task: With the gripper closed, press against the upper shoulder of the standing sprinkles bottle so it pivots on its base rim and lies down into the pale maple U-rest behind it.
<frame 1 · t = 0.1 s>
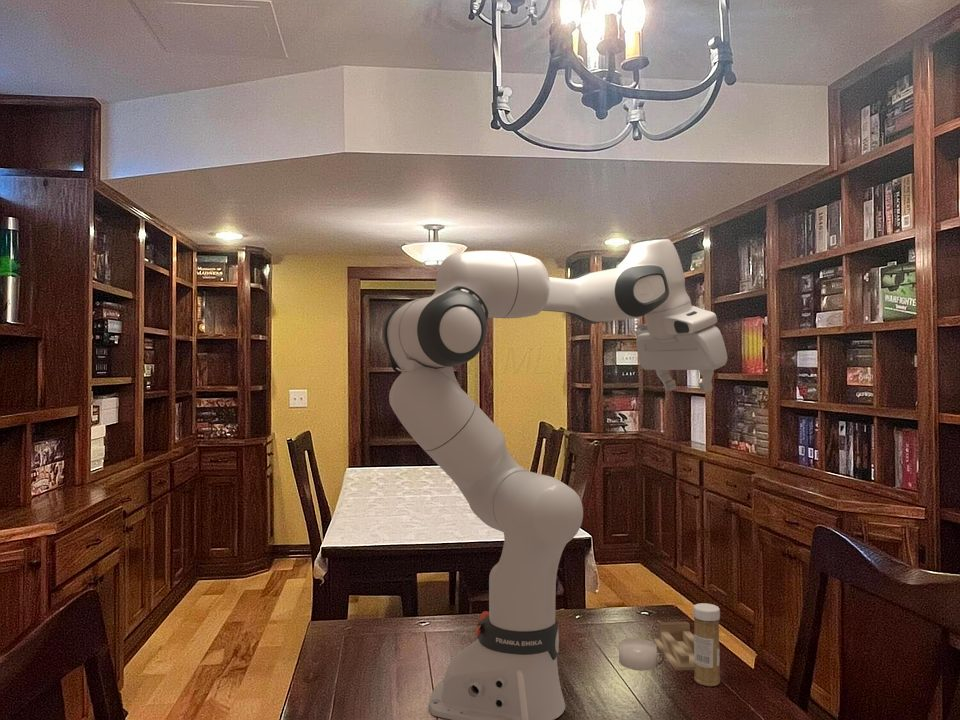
hand: (688, 390, 138), 52 cm above the table, tool tilted 20°, fingers open, 8 cm apart
sprinkles bottle: (706, 682, 129), on the table
u rest: (687, 658, 139), on the table
cream dish: (638, 663, 137), on the table
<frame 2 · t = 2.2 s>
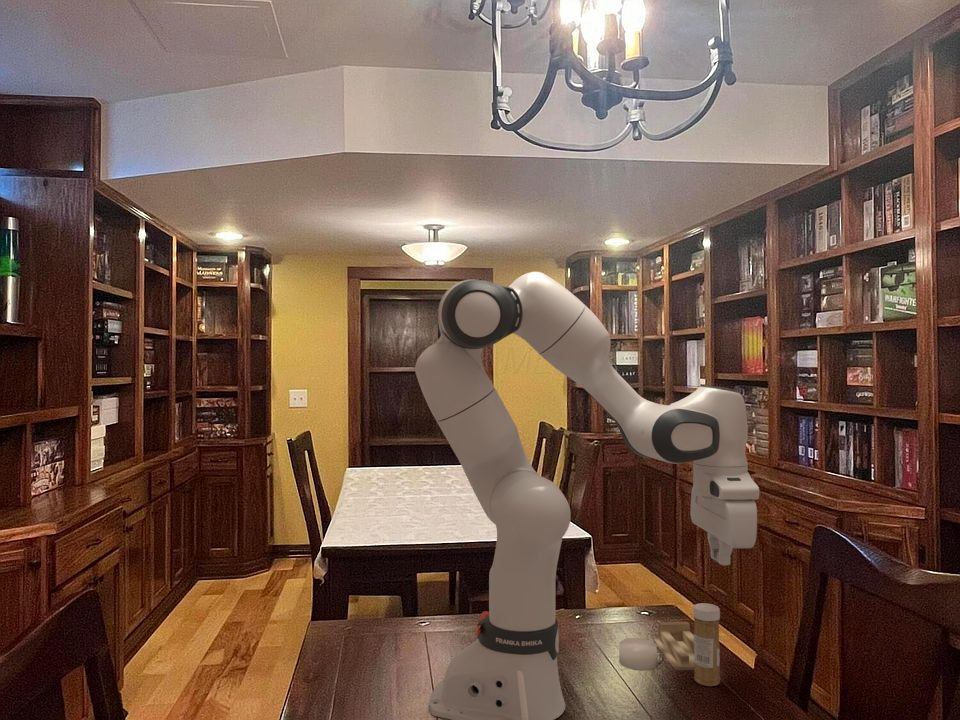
hand: (720, 562, 123), 23 cm above the table, tool pointing down, fingers closed
nothing on the table moved.
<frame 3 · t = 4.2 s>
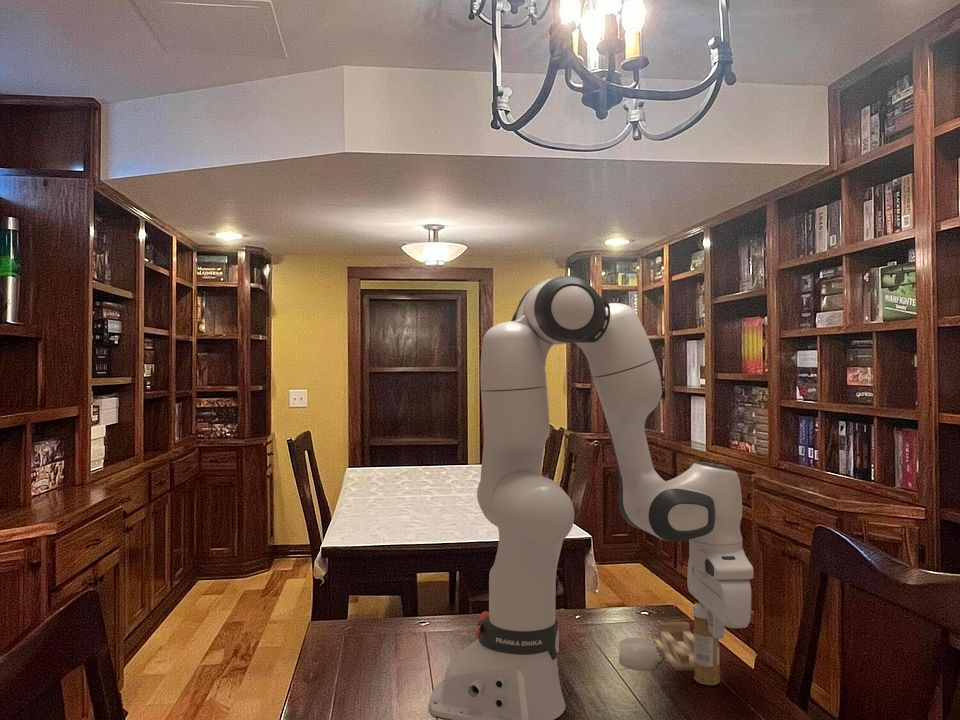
hand: (716, 635, 125), 10 cm above the table, tool pointing down, fingers closed
sprinkles bottle: (706, 682, 129), on the table, touching gripper
everything else where it was.
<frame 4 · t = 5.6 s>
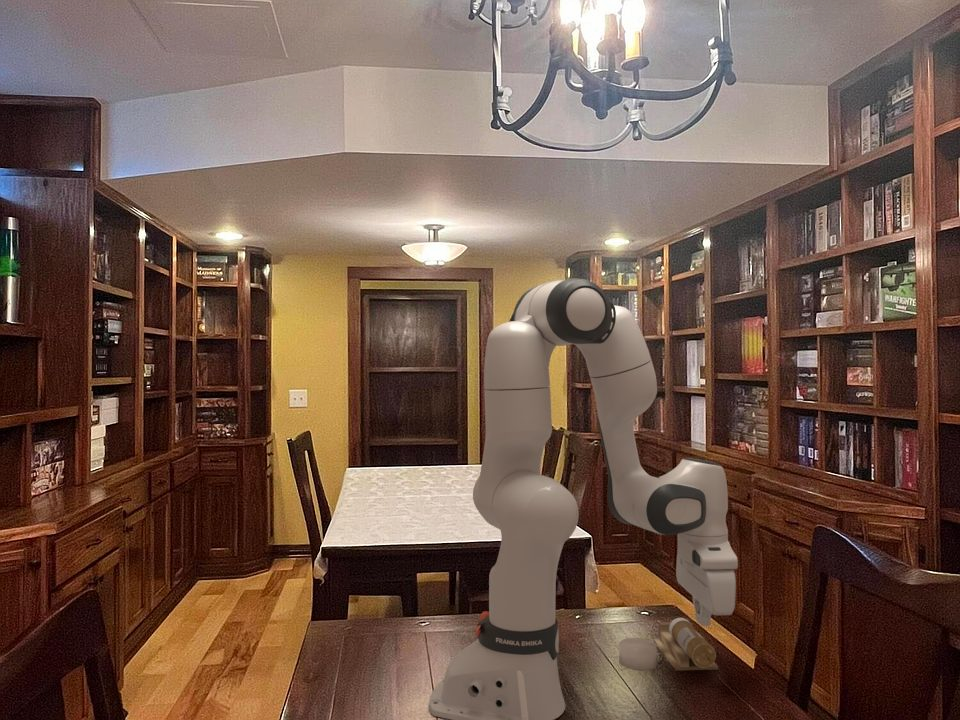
hand: (703, 623, 131), 10 cm above the table, tool pointing down, fingers closed
sprinkles bottle: (704, 656, 130), point 4 cm above the table, touching u rest
everything else where it was.
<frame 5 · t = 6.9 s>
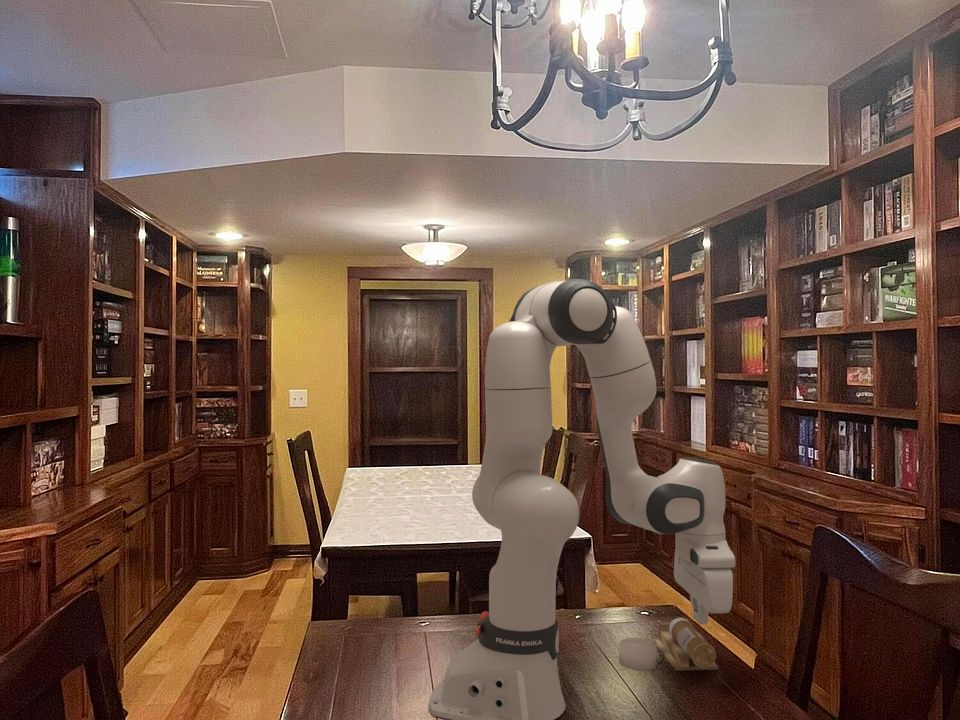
hand: (700, 621, 132), 10 cm above the table, tool pointing down, fingers closed
nothing on the table moved.
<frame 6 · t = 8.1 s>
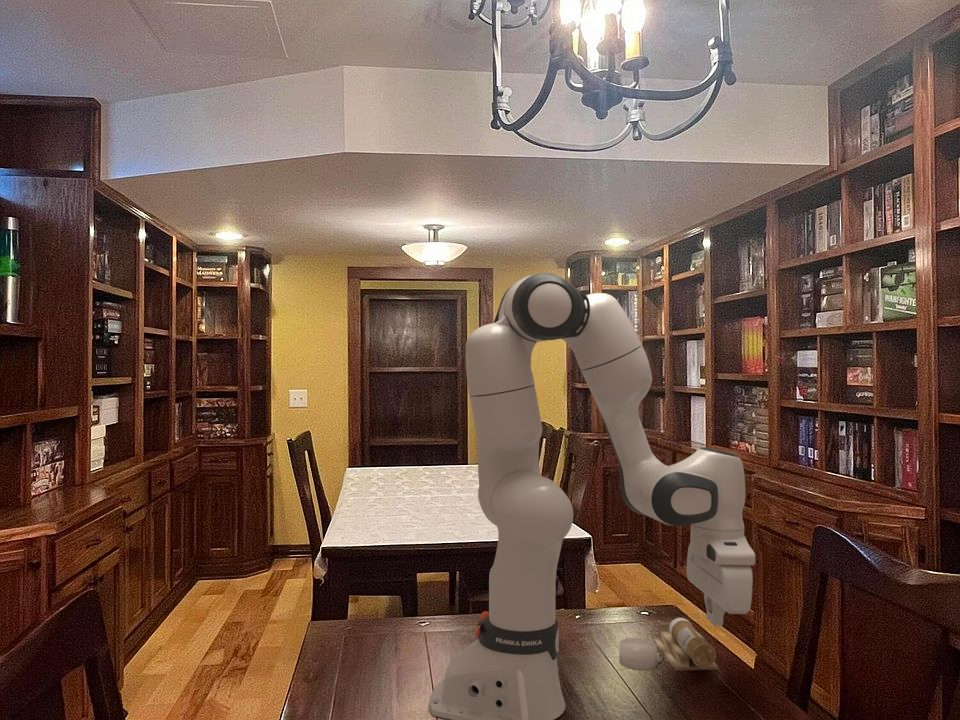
hand: (714, 623, 124), 12 cm above the table, tool pointing down, fingers closed
nothing on the table moved.
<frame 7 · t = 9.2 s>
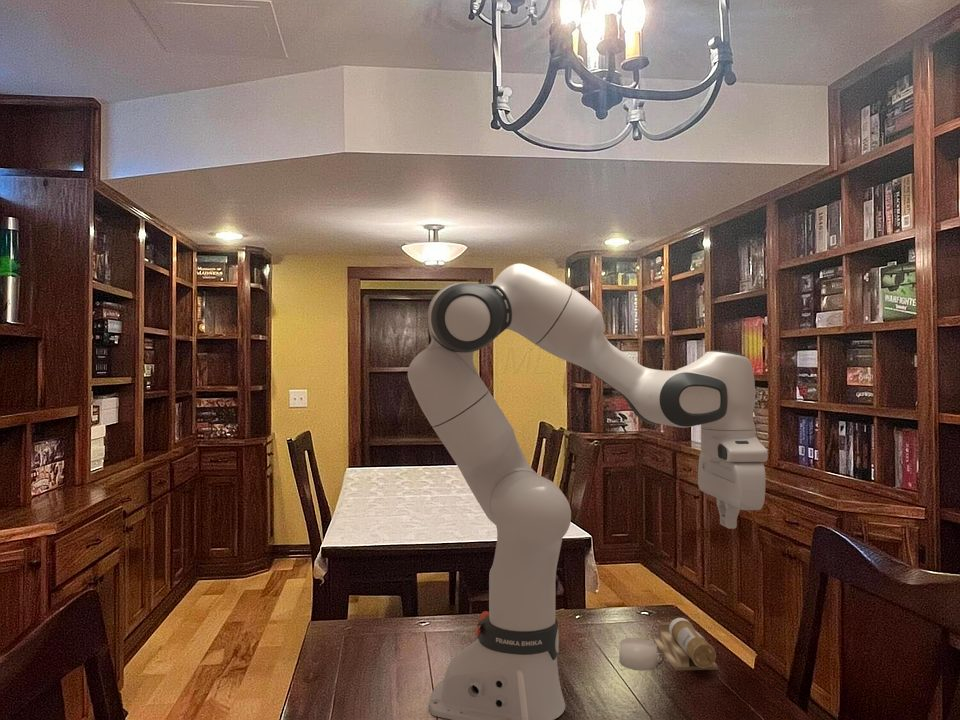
hand: (728, 526, 123), 29 cm above the table, tool pointing down, fingers closed
nothing on the table moved.
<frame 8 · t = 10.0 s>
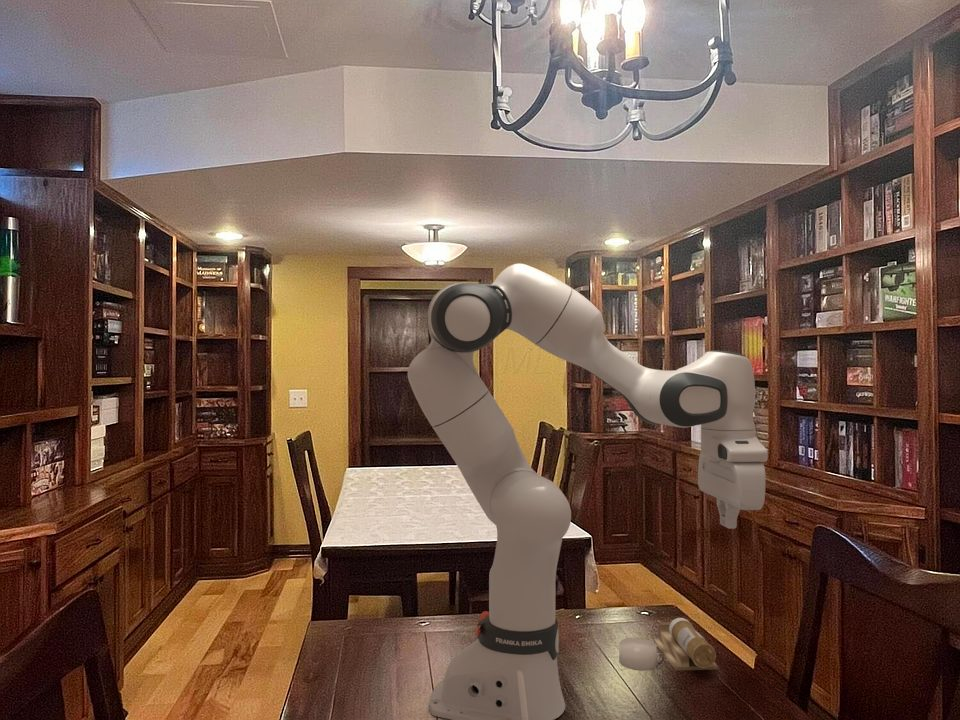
hand: (728, 526, 123), 29 cm above the table, tool pointing down, fingers closed
nothing on the table moved.
at the end: sprinkles bottle tilted 89°; sprinkles bottle 9.5 cm from the u rest (horizontally); sprinkles bottle point 4.0 cm above the table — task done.
